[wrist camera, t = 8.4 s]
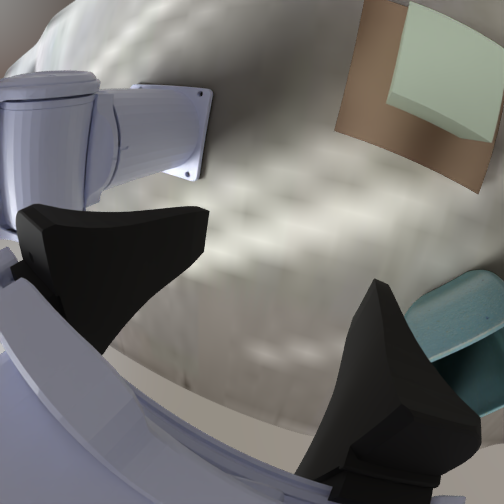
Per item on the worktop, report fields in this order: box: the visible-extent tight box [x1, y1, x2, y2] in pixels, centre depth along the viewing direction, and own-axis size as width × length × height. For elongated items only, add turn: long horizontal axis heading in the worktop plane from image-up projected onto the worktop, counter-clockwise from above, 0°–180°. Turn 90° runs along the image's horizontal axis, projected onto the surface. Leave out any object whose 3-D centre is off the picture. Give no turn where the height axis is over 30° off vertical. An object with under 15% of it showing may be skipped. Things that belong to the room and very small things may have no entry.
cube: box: [386, 1, 504, 143], centre depth 9 cm, size 5×5×5 cm
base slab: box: [334, 0, 504, 194], centre depth 12 cm, size 10×10×2 cm
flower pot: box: [404, 270, 504, 418], centre depth 14 cm, size 9×9×9 cm
